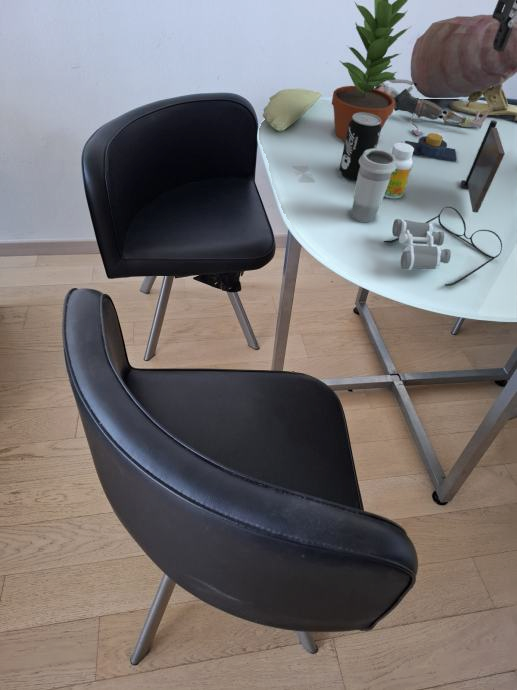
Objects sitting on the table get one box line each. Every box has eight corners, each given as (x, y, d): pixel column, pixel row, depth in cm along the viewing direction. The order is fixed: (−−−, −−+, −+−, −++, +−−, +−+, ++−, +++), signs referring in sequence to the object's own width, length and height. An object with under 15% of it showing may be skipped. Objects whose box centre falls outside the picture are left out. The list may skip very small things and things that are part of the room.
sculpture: (550, -4, 114) (503, 29, 142) (428, 0, 116) (405, 32, 144) (534, 88, 120) (492, 103, 148) (418, 90, 123) (399, 104, 151)
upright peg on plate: (471, 185, 107) (499, 120, 97) (472, 190, 105) (501, 124, 95) (460, 183, 107) (487, 118, 97) (461, 188, 105) (488, 122, 95)
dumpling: (320, 103, 132) (287, 91, 134) (324, 86, 129) (290, 74, 131) (280, 139, 116) (243, 126, 118) (284, 121, 112) (245, 107, 114)
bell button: (439, 141, 116) (442, 134, 115) (440, 148, 114) (443, 140, 112) (424, 139, 116) (427, 131, 115) (425, 145, 114) (427, 138, 113)
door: (472, 184, 104) (496, 128, 95) (477, 212, 96) (504, 153, 87) (467, 183, 104) (491, 127, 95) (472, 211, 96) (499, 152, 87)
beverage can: (364, 185, 103) (379, 128, 94) (335, 177, 104) (347, 120, 95) (371, 172, 107) (386, 116, 98) (342, 164, 108) (354, 108, 100)
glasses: (443, 200, 91) (436, 222, 95) (384, 233, 86) (380, 254, 90) (508, 239, 83) (498, 261, 87) (448, 277, 78) (440, 299, 82)
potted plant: (356, 155, 112) (393, -2, 90) (314, 129, 120) (338, -21, 98) (400, 142, 119) (444, -7, 97) (357, 118, 126) (389, -24, 105)
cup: (348, 202, 97) (363, 144, 88) (381, 210, 96) (399, 151, 88) (343, 221, 92) (358, 161, 84) (378, 229, 92) (396, 169, 83)
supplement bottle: (375, 195, 100) (388, 149, 93) (378, 183, 104) (391, 138, 97) (401, 201, 99) (416, 155, 92) (403, 189, 103) (418, 144, 96)
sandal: (528, 134, 128) (544, 101, 122) (446, 107, 137) (457, 75, 132) (542, 122, 136) (557, 91, 130) (463, 97, 145) (474, 67, 139)
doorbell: (453, 150, 118) (457, 140, 116) (455, 162, 114) (459, 152, 112) (404, 142, 119) (407, 132, 117) (404, 154, 115) (407, 143, 113)
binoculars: (391, 229, 88) (396, 212, 86) (434, 232, 89) (441, 215, 86) (402, 273, 81) (408, 256, 78) (450, 276, 81) (458, 259, 78)
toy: (495, 82, 122) (376, 66, 124) (489, 140, 119) (367, 123, 121) (480, 105, 131) (369, 90, 133) (474, 160, 128) (360, 144, 130)
